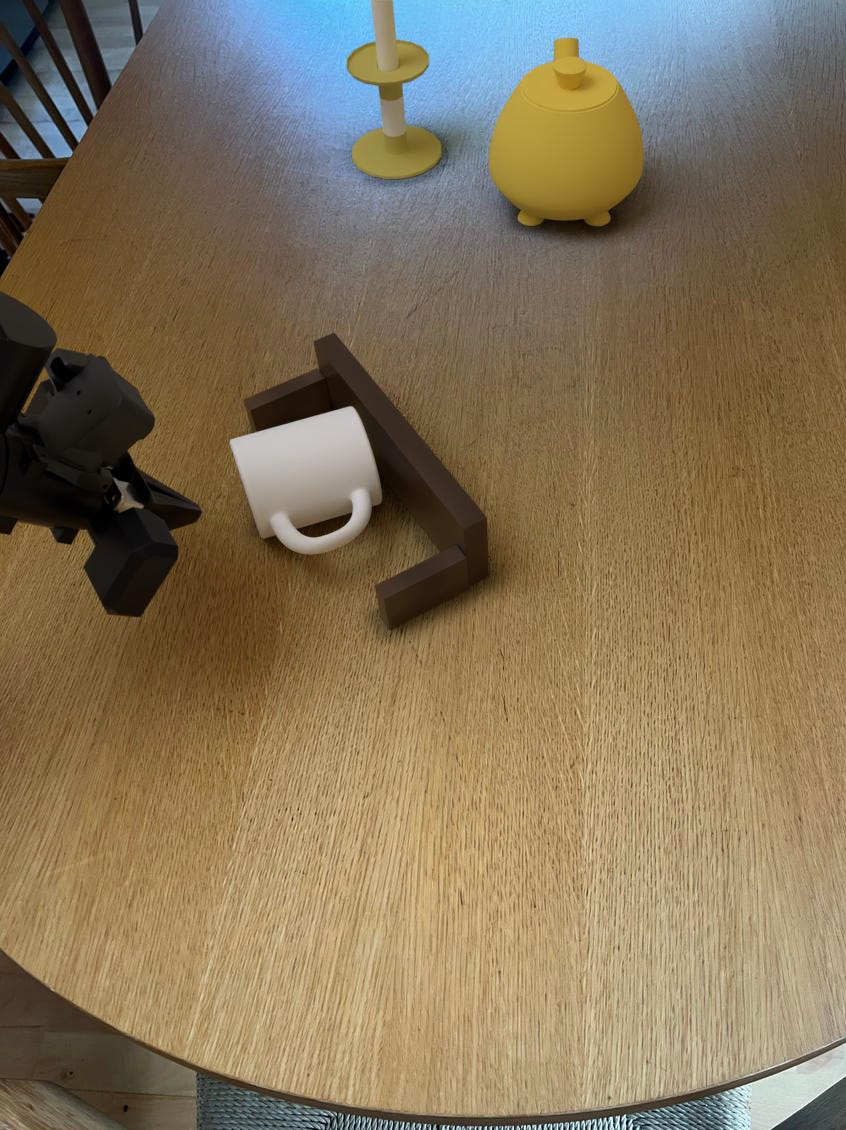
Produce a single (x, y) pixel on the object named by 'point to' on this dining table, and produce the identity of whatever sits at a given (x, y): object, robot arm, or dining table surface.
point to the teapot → (566, 142)
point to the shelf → (390, 477)
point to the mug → (310, 478)
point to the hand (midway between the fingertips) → (198, 513)
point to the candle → (392, 102)
